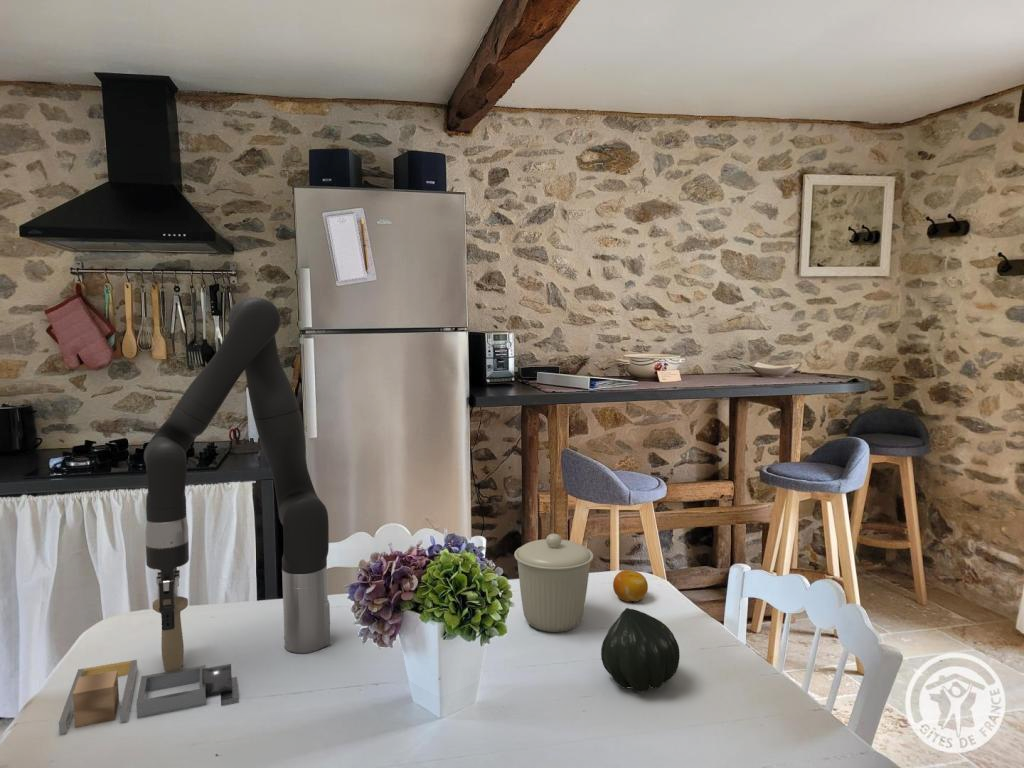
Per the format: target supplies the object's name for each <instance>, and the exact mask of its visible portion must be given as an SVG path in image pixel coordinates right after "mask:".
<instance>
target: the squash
mask: <svg viewBox="0 0 1024 768" xmlns="http://www.w3.org/2000/svg"><path fill="white" fill-rule="evenodd" d="M601 644H602V645H601V650H600V655H601V662H602V666H603V667H604V669H605V670H606V672H607V673H608V674H609V676H611V677H612V679H613V681H615V683H616V684H617V685H618V686H620V687H621V688H623V687H624V689H628V688H627V687H631V689H632V690H633V691H634V692H635V693H636V692H637V693H644V692H646V691H647V690H648V687H650V688H651V689H659V688H661V686H663V683H666V682H669V681H670V680H671V679H672V678H673V677H674V676H675V674H676V673H677V671H678V668H679V664H680V657H681V656H680V646H679V643H678V642H677V639H676V637H675V635H674V633H673V632H672V631H671V629H670V628H669V627H668V626H667V625H666V624H665V623H663V622H662V621H661V620H660V619H658V618H655V617H653V616H652V615H650V614H647V613H645V612H643V611H640V610H637V609H635V608H629V607H626V608H625V609H624V610H623V611H622V612H621V613H620V615H619V616H618V617H617V619H616V620H615V621H614V622H613V623H612V625H610V627H609V629H608V631H607V634H606V636H604V639H603V641H602V643H601Z"/></svg>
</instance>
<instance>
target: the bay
mask: <svg viewBox="0 0 1024 768" xmlns="http://www.w3.org/2000/svg"><path fill="white" fill-rule="evenodd" d="M112 671H117V673H118V677H120V676H127V678H126V683H125V686H124V690H123V691H124V692H123V695H122V700H121V705H120V709H119V716H120V724H123V723H128V719H129V714H130V709H131V706H132V705H131V704H132V699H133V694H134V690H135V685H136V684H135V683H136V680H137V675H138V659H133V660H128V661H122V662H115V663H110V664H109V663H108V664H103V665H99V666H98V665H97V666H92V667H84V668H80V669H77V672H76V674H75V678H74V679H73V682H72V685H71V688H70V691H69V693H68V697H67V698H66V702H65V705H64V707H63V710H62V713H61V715H60V717H59V720H58V729H59V730H58V731H59V736H61V735H66V734H68V731H69V729H70V728H69V727H70V726H71V722H72V719H73V716H74V703H73V692H74V689H75V687H76V684H77V681H78V678H79V677H82V676H88V675H94V674H100V673H106V672H112Z"/></svg>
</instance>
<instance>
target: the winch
mask: <svg viewBox="0 0 1024 768" xmlns="http://www.w3.org/2000/svg"><path fill="white" fill-rule="evenodd" d="M232 675H233V674H232V663H227V664H220V665H217V666H210V667H207V665H206V664H203V665H198V666H192V667H186V668H180V669H179V670H174V671H168V672H167V671H165V672H158V673H152V674H147V675H146V674H145V675H141V676H140V684H139V688H138V692H137V693H138V694H137V698H136V718H137V719H141V718H146V717H152V716H157V715H162V714H165V713H166V714H167V713H172V712H177V711H181V710H182V711H183V710H186V709H187V710H188V709H192V708H198V707H202V706H206V705H207V697H208V696H213V695H218V694H219V695H220V706H221V707H222V706H227V705H230V704H231V705H232V704H237V703H239V702H240V701H239V700H240V699H239V687H238V685H239V684H238V676H233V677H232ZM197 683H199V685H198V687H199V688H197V689H191V690H187V691H180V692H176V693H175V692H174V693H170V694H165V695H159V696H155V697H148V693H149V692H153V691H154V692H155V691H158V690H159V691H160V690H164V689H169V688H175V687H180V686H187V685H191V684H192V685H193V684H197Z"/></svg>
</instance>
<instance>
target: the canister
mask: <svg viewBox="0 0 1024 768" xmlns="http://www.w3.org/2000/svg"><path fill="white" fill-rule="evenodd" d="M514 558H515V560H516V561H517V570H518V579H519V589H520V598H521V605H522V611H523V616H524V619H525V621H526V622H527V623H528V624H529V625H530V626H531V627H532V628H535V629H537V630H539V631H543V632H549V633H551V632H552V633H555V632H557V633H559V632H566V631H570V630H572V629H574V628H576V627H577V626H578V625H579V623H581V621H582V618H583V615H584V613H585V611H584V610H585V605H586V597H587V591H588V590H587V589H588V581H589V577H590V576H589V573H590V565H591V562H592V561H593V560H594V554H593V552H592V551H591V549H589V548H587V547H586V546H584V545H582V544H580V543H578V542H575V541H573V540H568V539H562V537H561V536H560V535H559V534H558V533H550V534H548V535H547V536H546V538H544V539H543V538H541V539H536V540H533V541H529V542H527V543H525V544H523V545H522V546H520V547H518V548H517V549H516V550H515V551H514Z"/></svg>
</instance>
